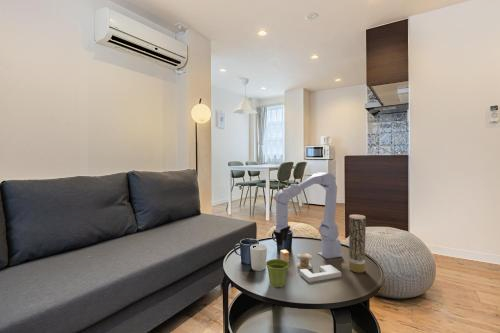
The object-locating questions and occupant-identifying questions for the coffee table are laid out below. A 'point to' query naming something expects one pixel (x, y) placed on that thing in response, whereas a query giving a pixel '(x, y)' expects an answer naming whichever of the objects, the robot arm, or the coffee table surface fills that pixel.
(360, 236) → the bark textured cylinder
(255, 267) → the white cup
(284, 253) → the block
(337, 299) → the coffee table surface
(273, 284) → the plant pot
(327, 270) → the board
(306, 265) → the bobbin
